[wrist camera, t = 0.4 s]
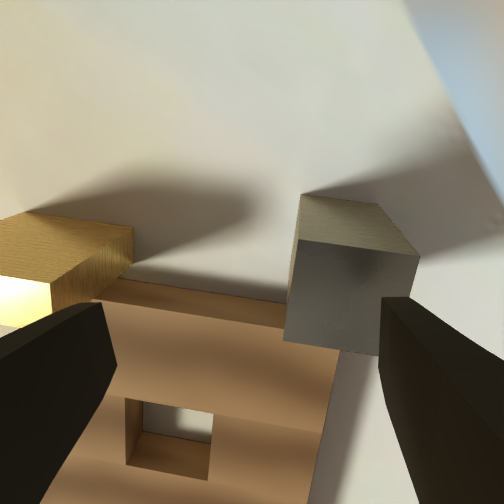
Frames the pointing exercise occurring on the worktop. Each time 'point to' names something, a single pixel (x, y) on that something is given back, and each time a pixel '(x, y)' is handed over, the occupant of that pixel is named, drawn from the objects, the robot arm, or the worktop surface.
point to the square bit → (344, 274)
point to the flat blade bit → (57, 263)
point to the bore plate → (201, 403)
